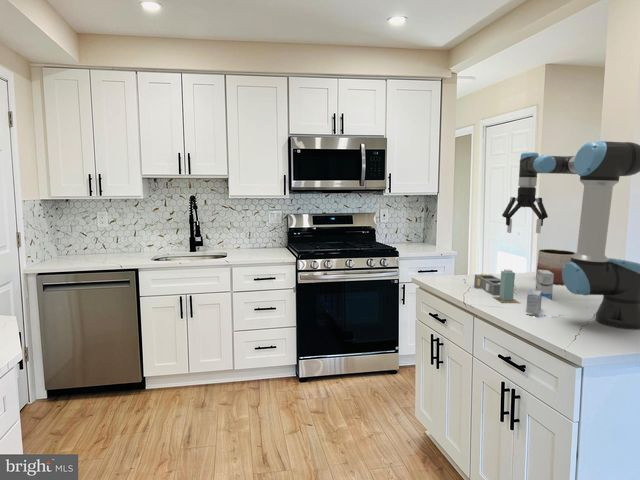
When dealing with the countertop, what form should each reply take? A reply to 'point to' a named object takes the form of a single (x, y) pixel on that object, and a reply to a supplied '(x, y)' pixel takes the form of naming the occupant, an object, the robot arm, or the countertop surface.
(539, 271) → the ink box
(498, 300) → the brown flat block
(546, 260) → the planter
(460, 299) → the countertop surface
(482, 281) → the socket strip
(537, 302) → the medicine box
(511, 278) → the plug
